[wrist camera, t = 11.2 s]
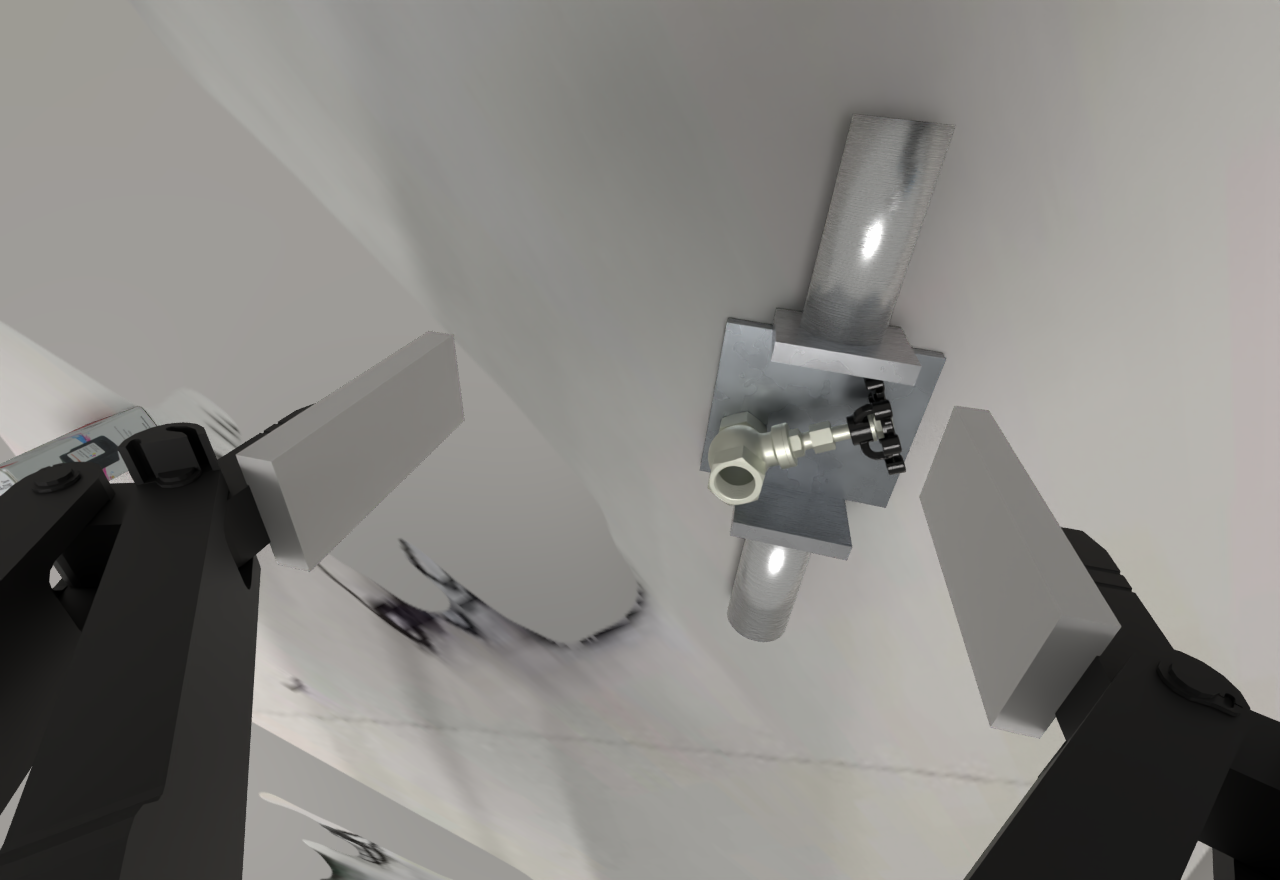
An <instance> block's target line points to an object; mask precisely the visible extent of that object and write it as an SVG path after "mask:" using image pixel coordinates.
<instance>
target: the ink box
mask: <svg viewBox="0 0 1280 880" xmlns="http://www.w3.org/2000/svg"><path fill="white" fill-rule="evenodd" d="M152 427H156V425H155V424H154V422H153V421H152V420H151V419H150V417H149V416H148V415H147V413H146V412H145V411H144V410H143V408H141V407H135V408H133V409H130V410H127V411H124V412H122V413H119V414H116V415H113V416H110V417H107V418H104V419H101V420H99V421H95V422H93V423H90V424H87V425H85V426H83V427H81V428H78V429H76V430H74V431H72V432H70V433H67V434H65V435H63V436H61V437H58V438H56V439H54V440H52V441H50V442H47V443H45V444H43V445H41V446H39V447H36V448H34V449H32V450H30V451H28V452H25V453H23V454H21V455H19V456H17V457H14V458H12V459H10V460H8V461H6V462H4V463H1V464H0V496H1V495H2V494H3V493H5V492H6V491H7V490H8V489H9V488H10V487H11V486H13V485H14V484H15V483H17V482H18V481H20V480H21V479H23V478H24V477H26V476H28V475H30V474H33V473H35V472H37V471H39V470H40V469H42V468H45V467H48V466H51V467H52V466H53V465H55V464H59V463H71V462H93V463H96V464H99V465H100V466H101V468H102V470H103V472H104V474H105V475H106V477H107V479H108V481H110V480H112V479H114V478H116V477H118V476H119V475H121V474H123V473H125V472H127V471H128V469H127V467H126V465H125V463H124V461H123V459H122V457H121V455H120V453H119V451H118V449H117V447H118V446H119V445H120V444H121V443H122V442H123V441H124V440H125V439H127V438H129V437H130V436H132V435H134V434H136V433H138V432H141V431H143V430H146V429H149V428H152Z"/></svg>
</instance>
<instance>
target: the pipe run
mask: <svg viewBox="0 0 1280 880" xmlns="http://www.w3.org/2000/svg"><path fill="white" fill-rule="evenodd" d="M954 129H955V125H947V124H938V123H930V122H921V121H912V120H903V119H895V118H886V117H877V116H868V115H859V114H853V117H852V121H851V125H850V129H849V132H848V136H847V140H846V144H845V148H844V152H843V156H842V160H841V164H840V168H839V172H838V176H837V180H836V184H835V188H834V192H833V196H832V199H831V203H830V207H829V211H828V215H827V219H826V223H825V227H824V231H823V235H822V239H821V243H820V247H819V251H818V255H817V259H816V263H815V267H814V270H813V274H812V278H811V282H810V286H809V290H808V294H807V298H806V302H805V306H804V310H803V312H800V311H793V310H787V309H781V308H776V312H775V316H774V321H773V325H769V324H763V323H757V322H751V321H745V320H739V319H733V318H728V321H727V326H726V331H725V337H724V342H723V348H722V353H721V358H720V364H719V369H718V375H717V380H716V386H715V391H714V396H713V402H712V407H711V413H710V418H709V424H708V429H707V434H706V440H705V445H704V451H703V456H702V462H701V467H700V471H705V472H710V473H711V469H710V466H709V462H708V451H709V447H710V444H711V442H712V440H713V439H714V438H715V436H716V435H717V434H718V433H719V429H720V425H721V420H722V418H724V417H727V416H730V415H733V414H737V413H741V412H749V413H750V414H752V415H753V416H754V417H756V418H757V419H758V420H759V421H761V422H762V423H763V424H764V425H765V426H766V427H767V432H770V431H771V427H772V426H774V425H778V424H782V423H787V424H788V426H789V428H790V430H791V429H796V428H798V429H799V430H800V432H801V433H804V432H808V431H809V425H812V424H816V423H821V422H825V421H829V422H830V424H831V427H834V426H839V425H843V424H847V420H846V416H847V415H851V414H853V413H854V411H855V410H856V409H858V408H859V407H861V406H863V405H866V404H869V400H868V397H872V392H871V390H869V391H867V388H866V387H865V383H864V379H863V377H865V378H871V379H877V380H882V381H883V382H884V386H885V391H884V394H885V397H886V399H889V401H890V404H891V408H892V412H893V417H892V420H893V424H894V430H895V433H896V434H898V436H899V439H900V443H901V447H902V452H901V453H900V454H901V455H902V457H903V460H904V462H905V459H906V457H907V454H908V452H909V449H910V447H911V444H912V442H913V439H914V437H915V434H916V432H917V430H918V427H919V425H920V422H921V420H922V417H923V415H924V412H925V410H926V407H927V405H928V402H929V400H930V398H931V395H932V393H933V390H934V388H935V385H936V383H937V380H938V378H939V375H940V373H941V370H942V368H943V366H944V363H945V361H946V357H945V356H944V354H943V353H940V352H934V351H928V350H921V349H915V348H912V347H911V345H910V344H909V342H908V340H907V338H906V336H905V334H904V332H903V331H902V329H901V328H900V327H893V326H888V324H889V321H890V318H891V315H892V312H893V309H894V306H895V303H896V300H897V297H898V294H899V291H900V288H901V285H902V282H903V280H904V277H905V274H906V271H907V268H908V265H909V262H910V259H911V256H912V253H913V250H914V247H915V244H916V241H917V238H918V235H919V232H920V229H921V226H922V223H923V220H924V217H925V214H926V211H927V208H928V206H929V203H930V200H931V197H932V194H933V191H934V188H935V185H936V182H937V179H938V176H939V173H940V170H941V167H942V164H943V161H944V158H945V155H946V152H947V149H948V146H949V143H950V140H951V137H952V135H953V132H954ZM871 417H872V416H871ZM876 436H877V434H876ZM873 440H874V439H873ZM877 440H878V441H874V442H869V446H870V448H871V450H873V451H875V452H879V451H883V448H882V444H880V442H879V439H878V437H877ZM835 443H836V449H835V450H830V451H826V452H821V453H817V454H816V453H815V451H814V448H813V449H808V450H806V451H805V456H803V457H799V458H797V459H798V465H797V466H795V467H791V468H786V469H782V468H781V467H780V465H777V466H772V467H769V468H768V470H767V472H766V473H765V478H764V481H763V485H762V488H761V492H760V495H759V498H758V500H755V501H752V502H749V503H745V504H739V505H734V507H733V515H732V523H731V532H730V535H731V536H735V537H740V538H745V543H744V547H743V550H742V554H741V558H740V562H739V566H738V570H737V574H736V578H735V582H734V586H733V590H732V594H731V598H730V602H729V606H728V610H727V616H728V620H729V622H730V624H731V625H732V627H733V628H734V629H735V630H736V631H737V632H738V633H739V634H741V635H742V636H744V637H746V638H748V639H751V640H754V641H758V642H769V641H774V640H776V639H778V638H779V637H781V636H782V635H783V633H784V631H785V629H786V626H787V623H788V620H789V617H790V614H791V611H792V608H793V605H794V602H795V599H796V596H797V593H798V590H799V587H800V584H801V581H802V578H803V576H804V573H805V570H806V567H807V564H808V561H809V558H810V555H811V553H815V554H819V555H824V556H829V557H833V558H838V559H842V560H847V559H848V556H849V554H850V551H851V549H852V544H851V537H850V531H849V525H848V518H847V512H846V505H845V500H850V501H855V502H860V503H865V504H870V505H874V506H879V507H884V508H886V506H887V503H888V501H889V498H890V496H891V494H892V491H893V489H894V486H895V484H896V481H897V479H898V476H899V474H900V473H899V474H894V475H889V474H888V470H887V468H886V465H885V461H884V460H873V459H871V458H869V457H867V456H866V455H865V454H864V453H863V452H862V450H861V447H860V445H855V446H854V445H853V443H852V440H851V439H847V440H842V441H838V442H835Z"/></svg>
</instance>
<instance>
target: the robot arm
mask: <svg viewBox="0 0 1280 880" xmlns="http://www.w3.org/2000/svg"><path fill="white" fill-rule="evenodd" d="M463 421H464V412H463V405H462V397H461V389H460V381H459V373H458V365H457V358H456V350H455V342H454V335H453V334H446V333H439V332H432V331H428V332H426V333H425V334H423V335H422V336H420V337H418V338H417V339H415V340H414V341H412V342H411V343H409V344H407V345H406V346H404V347H403V348H401V349H400V350H398V351H396V352H395V353H393V354H392V355H390V356H389V357H387V358H386V359H384V360H383V361H381V362H379V363H378V364H376V365H375V366H373V367H372V368H370V369H368V370H367V371H365V372H364V373H362V374H361V375H359V376H357V377H356V378H354V379H353V380H351V381H350V382H348V383H347V384H345V385H343V386H342V387H340V388H339V389H337V390H336V391H334V392H333V393H331V394H329V395H328V396H326V397H325V398H323V399H322V400H320V401H318V402H317V403H315V404H312V405H309V406H307V407H304V408H301V409H299V410H296V411H294V412H293V413H291V414H290V415H288V416H286V417H285V418H283V419H282V420H280V421H279V422H278V424H274V425H272V426H271V427H269V428H267V429H266V430H264V433H259V434H258V435H256V436H255V437H253V438H251V439H250V440H248V441H247V442H245V443H243V444H242V445H240V446H239V447H237V448H235V449H234V450H232V451H231V452H229V453H228V454H226V455H224V456H223V457H221V458H220V459H218V460H217V458H216V456H215V453H214V451H213V449H212V446H211V444H210V441H209V439H208V436H207V434H206V431H205V429H204V427H202V426H200V425H198V424H193V423H171V424H165V425H160V426H156V427H152V428H149V429H146V430H143V431H141V432H138V433H136V434H134V435H132V436H130V437H129V438H127V439H125V440H124V441H123V442H122V443H121V444H120V445H119V446H118V447H117V449H118V451H119V453H120V455H121V457H122V459H123V461H124V463H125V465H126V467H127V469H128V471H129V473H130V475H131V477H132V478H133V480H134V482H135V483H114V484H110V483H109V481H108V479H107V477H106V475H105V474H104V472H103V470H102V468H101V466H100V465H99V464H96V463H93V462H71V463H59V464H55V465H53V466H52V467H51V466H48V467H45V468H42V469H40V470H39V471H37V472H35V473H33V474H30V475H28V476H26V477H24V478H23V479H21V480H20V481H18V482H17V483H15V484H14V485H13V486H11V487H10V488H9V489H8V490H7V491H6V492H5V493H3V494H2V495H1V496H0V815H1V813H2V812H3V810H4V809H5V807H6V806H7V804H8V803H9V801H10V799H11V798H12V796H13V795H14V793H15V792H16V790H17V789H18V787H19V786H20V784H21V782H22V781H23V779H24V778H25V776H26V775H27V773H28V772H29V770H30V769H31V771H30V774H29V776H28V779H27V782H26V785H25V787H24V790H23V793H22V796H21V798H20V801H19V804H18V807H17V809H16V812H15V814H14V817H13V820H12V823H11V825H10V828H9V831H8V833H7V836H6V839H5V842H4V844H3V846H2V848H1V850H0V880H242V870H243V854H244V837H245V820H246V803H247V786H248V770H249V754H250V737H251V721H252V704H253V687H254V671H255V654H256V637H257V621H258V604H259V587H260V571H261V568H260V564H259V561H258V559H257V556H256V554H257V553H258V552H259V551H261V550H262V549H263V548H264V547H265V546H266V545H268V544H269V543H270V546H271V548H272V551H273V553H274V556H275V559H276V561H277V564H278V565H282V566H286V567H290V568H295V569H299V570H304V571H308V572H310V571H311V570H312V569H313V568H314V567H315V566H316V565H317V564H318V563H319V562H320V561H321V560H322V559H324V558H325V557H326V556H327V555H328V554H329V553H330V552H331V551H332V550H333V549H334V548H335V547H336V546H337V545H338V544H339V543H340V542H341V541H342V540H343V539H344V538H345V537H346V536H347V535H348V534H349V533H350V532H351V531H352V530H353V529H354V528H355V527H356V526H357V525H358V524H359V523H360V522H361V521H362V520H363V519H364V518H365V517H366V516H367V515H368V514H369V513H370V512H371V511H372V510H373V509H374V508H376V506H378V505H379V503H381V502H382V501H383V500H384V499H385V498H386V497H387V496H388V495H389V494H390V493H391V492H392V491H393V490H394V489H395V488H396V487H397V486H398V485H399V484H400V483H401V482H402V481H403V480H404V479H405V478H406V477H407V476H408V475H409V474H410V473H411V472H412V471H413V470H414V469H415V468H416V467H417V466H418V465H419V464H420V463H421V462H422V461H423V460H425V458H427V457H428V456H429V455H430V454H431V453H432V452H433V451H434V450H435V449H436V448H437V447H438V446H439V445H440V444H441V443H442V442H443V441H444V440H445V439H446V438H447V437H448V436H449V435H450V434H451V433H452V432H453V431H454V430H455V429H456V428H457V427H458V426H459V425H460V424H461V423H462V422H463ZM920 501H921V504H922V507H923V510H924V513H925V517H926V520H927V523H928V526H929V530H930V533H931V536H932V539H933V543H934V546H935V549H936V552H937V556H938V559H939V562H940V565H941V569H942V572H943V575H944V578H945V582H946V585H947V588H948V591H949V595H950V598H951V601H952V604H953V608H954V611H955V614H956V617H957V621H958V624H959V627H960V630H961V633H962V637H963V640H964V643H965V646H966V650H967V653H968V656H969V659H970V663H971V666H972V669H973V672H974V676H975V679H976V682H977V685H978V689H979V692H980V695H981V698H982V702H983V705H984V708H985V711H986V715H987V718H988V721H989V724H990V727H991V728H995V729H999V730H1004V731H1008V732H1013V733H1017V734H1021V735H1026V736H1030V737H1035V738H1039V739H1040V738H1041V737H1042V735H1043V734H1044V732H1045V731H1046V730H1047V728H1048V727H1049V726H1050V724H1051V723H1052V721H1053V720H1054V719H1055V717H1056V718H1057V720H1058V723H1059V725H1060V727H1061V730H1062V732H1063V734H1064V737H1065V739H1066V741H1065V743H1064V744H1063V745H1062V746H1061V748H1060V749H1059V750H1058V752H1057V753H1056V754H1055V755H1054V757H1053V758H1052V759H1051V761H1050V762H1049V763H1048V765H1047V766H1046V767H1045V768H1044V770H1043V771H1042V772H1041V774H1040V775H1039V776H1038V779H1037V780H1036V782H1035V783H1034V784H1033V786H1032V787H1031V788H1030V790H1029V791H1028V792H1027V794H1026V795H1025V797H1024V798H1023V799H1022V801H1021V802H1020V803H1019V805H1018V806H1017V807H1016V809H1015V810H1014V812H1013V813H1012V814H1011V816H1010V817H1009V818H1008V820H1007V821H1006V822H1005V824H1004V825H1003V827H1002V828H1001V829H1000V831H999V832H998V833H997V835H996V836H995V837H994V839H993V840H992V842H991V843H990V844H989V846H988V847H987V848H986V850H985V851H984V852H983V854H982V855H981V857H980V858H979V859H978V861H977V862H976V863H975V865H974V866H973V867H972V869H971V870H970V872H969V873H968V874H967V876H966V877H965V878H964V880H1181V877H1182V875H1183V873H1184V871H1185V868H1186V866H1187V864H1188V861H1189V859H1190V857H1191V855H1192V852H1193V850H1194V848H1195V846H1196V843H1197V841H1200V842H1202V843H1204V844H1206V845H1208V846H1210V847H1212V850H1213V874H1214V880H1280V722H1278V721H1276V720H1273V719H1271V718H1268V717H1266V716H1264V715H1261V714H1259V713H1256V712H1254V711H1252V710H1250V707H1249V705H1248V703H1247V702H1246V700H1245V699H1244V697H1243V695H1242V694H1241V692H1240V691H1239V690H1238V689H1237V688H1236V687H1235V686H1234V685H1233V684H1232V683H1231V682H1229V681H1228V680H1227V679H1226V678H1225V677H1224V676H1223V675H1222V674H1220V673H1219V672H1217V671H1216V670H1214V669H1213V668H1211V667H1210V666H1208V665H1207V664H1205V663H1204V662H1202V661H1200V660H1198V659H1196V658H1194V657H1191V656H1189V655H1187V654H1185V653H1183V652H1181V651H1177V650H1174V649H1173V648H1172V646H1171V645H1170V643H1169V642H1168V640H1167V639H1166V637H1165V636H1164V634H1163V633H1162V631H1161V630H1160V628H1159V627H1158V626H1157V624H1156V623H1155V621H1154V620H1153V618H1152V617H1151V615H1150V614H1149V612H1148V611H1147V609H1146V608H1145V607H1144V605H1143V604H1142V602H1141V601H1140V599H1139V598H1138V596H1137V595H1136V593H1133V592H1132V587H1131V586H1130V585H1129V583H1128V582H1127V580H1126V579H1125V577H1124V576H1123V575H1120V570H1119V568H1118V567H1117V566H1116V564H1115V563H1114V561H1113V560H1112V558H1111V557H1110V555H1109V554H1108V552H1107V551H1106V550H1105V549H1104V548H1103V547H1101V546H1100V545H1099V544H1098V543H1096V542H1095V541H1094V540H1093V539H1092V538H1090V537H1089V536H1088V535H1087V534H1086V533H1084V532H1083V531H1080V530H1074V529H1069V528H1063V527H1060V526H1059V524H1058V522H1057V521H1056V519H1055V517H1054V516H1053V514H1052V512H1051V511H1050V509H1049V508H1048V506H1047V504H1046V503H1045V501H1044V499H1043V498H1042V496H1041V495H1040V493H1039V491H1038V490H1037V488H1036V486H1035V485H1034V483H1033V482H1032V480H1031V478H1030V477H1029V475H1028V473H1027V472H1026V470H1025V468H1024V467H1023V465H1022V464H1021V462H1020V460H1019V459H1018V457H1017V455H1016V454H1015V452H1014V451H1013V449H1012V447H1011V446H1010V444H1009V442H1008V441H1007V439H1006V438H1005V436H1004V434H1003V433H1002V431H1001V429H1000V428H999V426H998V424H997V423H996V421H995V420H994V418H993V416H992V415H991V413H990V411H989V410H982V409H975V408H968V407H961V406H954V409H953V411H952V414H951V416H950V419H949V422H948V424H947V427H946V429H945V432H944V435H943V437H942V440H941V442H940V445H939V448H938V450H937V453H936V455H935V458H934V461H933V463H932V466H931V468H930V471H929V474H928V476H927V479H926V481H925V484H924V487H923V489H922V492H921V494H920ZM53 565H54V566H55V568H56V570H57V571H58V573H59V574H60V576H61V577H62V579H61V580H60V581H59V582H58V584H57V585H56V586H55V587H54V588H51V585H50V583H49V577H50V570H51V568H52V566H53ZM31 767H32V768H31Z"/></svg>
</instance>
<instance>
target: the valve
mask: <svg viewBox="0 0 1280 880" xmlns="http://www.w3.org/2000/svg"><path fill="white" fill-rule="evenodd" d="M863 379H864V383H865V387H866V388H867V391H869V390H871V392H872V397H868V400H869V404H866V405H863V406H861V407H859V408H858V409H856V410H855V411H854V413H853V414H851V415H847V416H846V420H847V424H843V425H839V426H834V427H831V424H830V422H829V421H825V422H821V423H816V424H812V425H809V431H808V432H804V433H801V432H800V430H799V429H798V428H796V429H791V430H790V428H789V426H788V424H787V423H782V424H778V425H774V426H772V427H771V431H770V432H767V427H766V426H765V425H764V424H763V423H762V422H761V421H759V420H758V419H757V418H756V417H754V416H753V415H752V414H750V413H749V412H741V413H737V414H733V415H730V416H727V417H724V418H722V420H721V425H720V429H719V433H718V434H717V435H716V436H715V438H714V439H713V440H712V442H711V444H710V447H709V451H708V462H709V466H710V469H711V473H710V478H709V483H708V489H709V490H710V491H711V492H712V493H713V494H714V495H715V496H716V497H718V498H719V499H720V500H722V501H723V502H725V503H726V504H728V505H739V504H745V503H749V502H752V501H755V500H758V498H759V495H760V492H761V488H762V485H763V481H764V478H765V473H766V472H767V470H768V468H769V467H772V466H777V465H780V467H781V468H782V469H786V468H791V467H795V466H797V465H798V459H797V458H799V457H803V456H805V451H806V450H808V449H813V448H814V451H815V453H816V454H817V453H821V452H826V451H830V450H835V449H836V443H835V442H838V441H842V440H847V439H851V440H852V443H853V445H854V446H855V445H860V447H861V450H862V452H863V453H864V454H865V455H866V456H867V457H869V458H871V459H873V460H884V461H885V465H886V468H887V470H888V474H889V475H894V474H899V473H904V472H906V468H905V464H904V460H903V457H902V455H901V454H900V453H901V452H902V447H901V443H900V439H899V436H898V434H896V433H895V430H894V424H893V420H892V417H893V412H892V408H891V404H890V401H889V399H886V397H885V394H884V391H885V386H884V382H883V381H882V380H877V379H871V378H865V377H863ZM871 416H872V417H871ZM876 434H877V436H876ZM877 437H878V439H879V442H880V444H882V448H883V451H879V452H875V451H873V450H871V448H870V446H869V442H874V441H878V440H877ZM873 439H874V440H873Z"/></svg>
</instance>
